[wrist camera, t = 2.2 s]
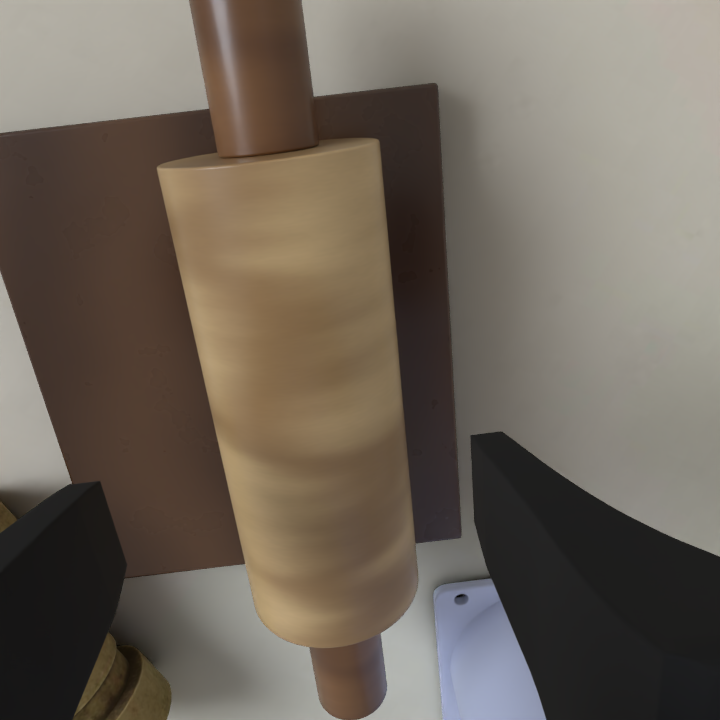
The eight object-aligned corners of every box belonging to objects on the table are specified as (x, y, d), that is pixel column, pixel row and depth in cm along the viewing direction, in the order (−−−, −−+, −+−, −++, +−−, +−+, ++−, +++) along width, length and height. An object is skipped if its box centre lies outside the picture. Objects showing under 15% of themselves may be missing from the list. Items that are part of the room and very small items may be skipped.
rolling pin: (359, -76, 14) (354, -156, 10) (422, 625, 22) (435, 758, 18) (149, -48, 14) (49, -114, 10) (287, 634, 22) (267, 767, 18)
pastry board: (428, 83, 17) (438, 82, 15) (453, 511, 22) (462, 538, 21) (-16, 135, 17) (-47, 138, 15) (118, 551, 22) (104, 582, 21)
